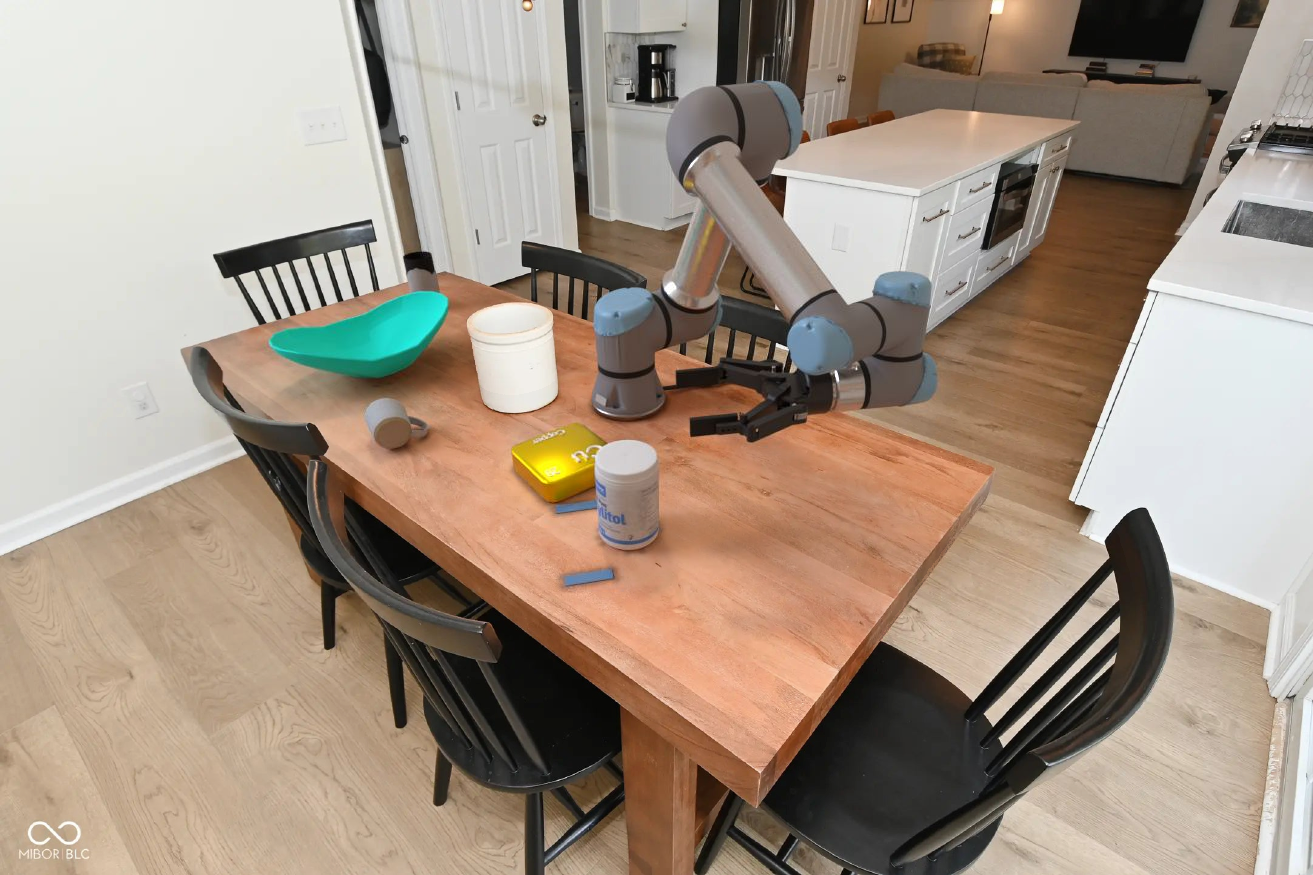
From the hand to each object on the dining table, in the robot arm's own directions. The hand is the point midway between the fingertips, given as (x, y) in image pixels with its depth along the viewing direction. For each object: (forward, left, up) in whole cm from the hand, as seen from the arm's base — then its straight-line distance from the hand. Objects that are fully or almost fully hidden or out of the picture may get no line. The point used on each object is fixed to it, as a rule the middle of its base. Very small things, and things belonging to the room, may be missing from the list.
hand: (682, 402), depth 98 cm
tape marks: (+16, -4, -22) cm, 28 cm away
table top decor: (+37, -82, -22) cm, 92 cm away
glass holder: (+18, -119, -22) cm, 122 cm away
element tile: (+12, -23, -22) cm, 34 cm away
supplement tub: (+9, -2, -22) cm, 24 cm away
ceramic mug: (+37, -49, -22) cm, 65 cm away
